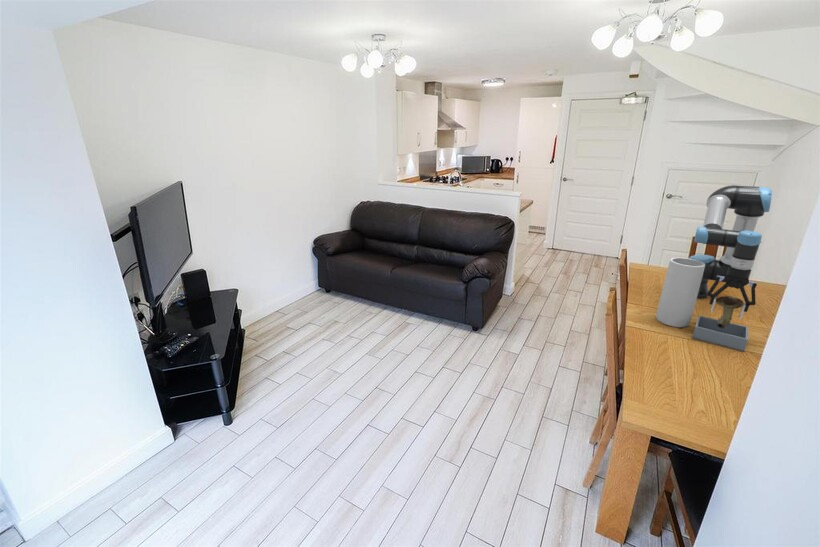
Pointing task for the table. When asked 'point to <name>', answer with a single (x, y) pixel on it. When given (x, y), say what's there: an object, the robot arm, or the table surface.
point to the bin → (721, 333)
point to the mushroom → (727, 309)
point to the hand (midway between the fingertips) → (725, 314)
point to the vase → (680, 291)
